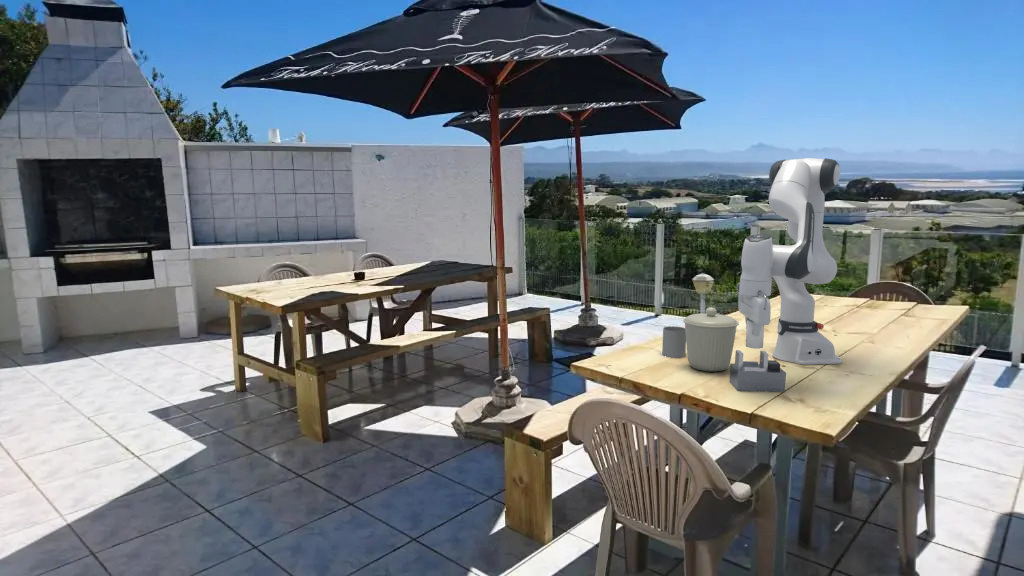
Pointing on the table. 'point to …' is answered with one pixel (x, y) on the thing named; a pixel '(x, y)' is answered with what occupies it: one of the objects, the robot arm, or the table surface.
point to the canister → (710, 340)
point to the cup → (674, 342)
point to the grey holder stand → (757, 374)
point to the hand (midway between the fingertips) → (752, 333)
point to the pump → (753, 340)
